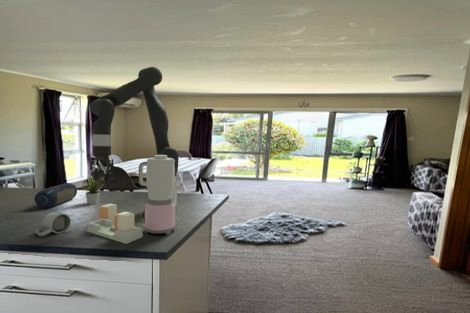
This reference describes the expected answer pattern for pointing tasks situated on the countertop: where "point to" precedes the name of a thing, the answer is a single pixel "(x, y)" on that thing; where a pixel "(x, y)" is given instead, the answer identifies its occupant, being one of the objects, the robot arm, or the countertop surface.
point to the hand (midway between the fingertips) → (101, 181)
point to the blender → (159, 194)
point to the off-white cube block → (108, 211)
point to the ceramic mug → (54, 223)
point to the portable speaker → (55, 195)
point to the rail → (111, 234)
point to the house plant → (92, 191)
